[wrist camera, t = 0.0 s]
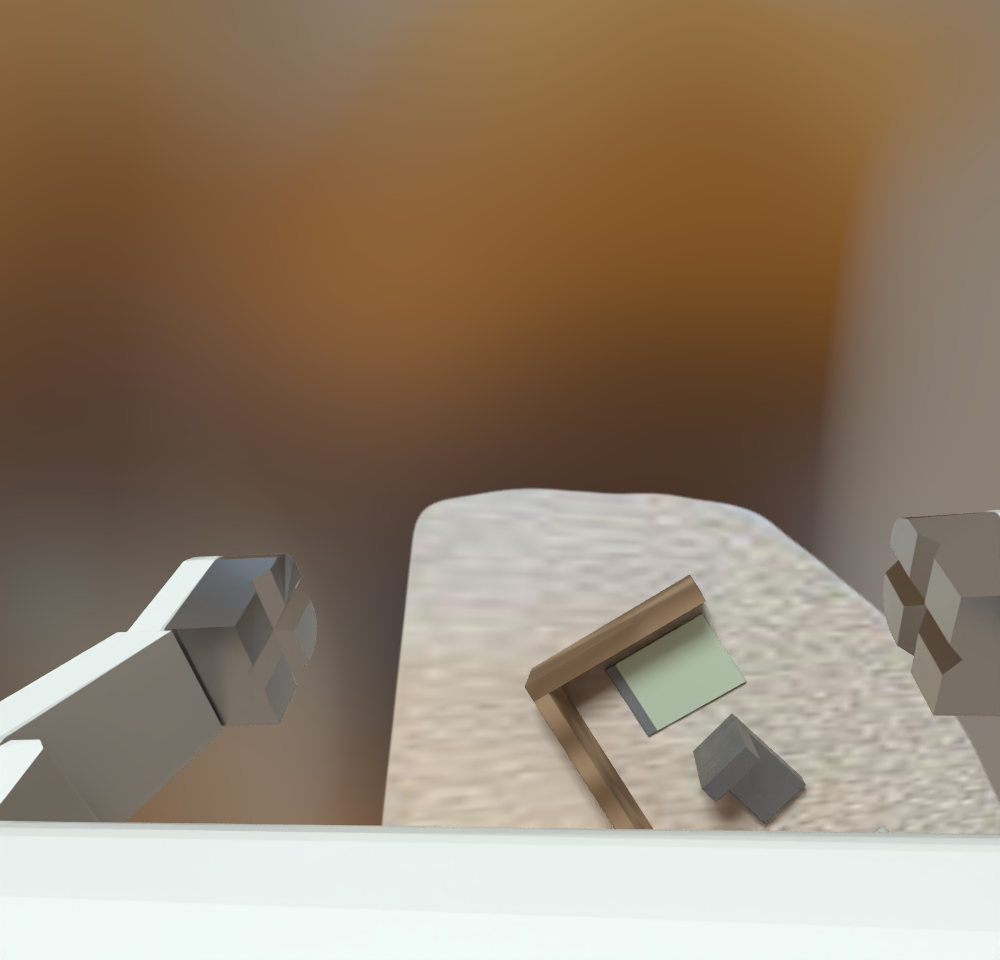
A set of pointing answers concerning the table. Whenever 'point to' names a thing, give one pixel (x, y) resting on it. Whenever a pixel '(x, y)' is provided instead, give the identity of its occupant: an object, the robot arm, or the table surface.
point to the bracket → (745, 769)
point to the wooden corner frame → (580, 659)
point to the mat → (675, 674)
